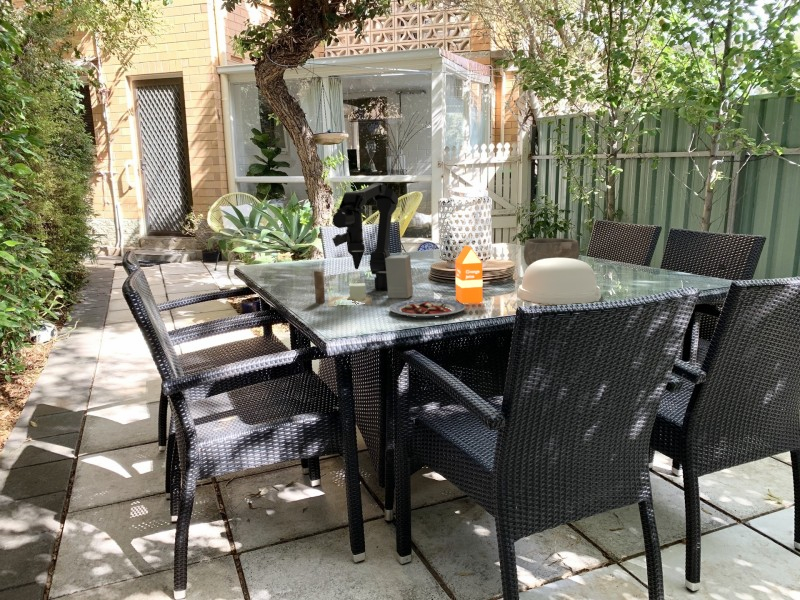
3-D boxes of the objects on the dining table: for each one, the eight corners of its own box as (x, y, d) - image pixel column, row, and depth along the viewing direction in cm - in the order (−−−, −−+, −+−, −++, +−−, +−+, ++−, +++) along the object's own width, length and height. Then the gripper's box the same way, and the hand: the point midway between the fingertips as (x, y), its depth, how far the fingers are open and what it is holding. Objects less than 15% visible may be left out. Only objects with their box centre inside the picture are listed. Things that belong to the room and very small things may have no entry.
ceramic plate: (408, 325, 194) (408, 315, 194) (378, 309, 218) (377, 301, 217) (479, 315, 204) (479, 306, 204) (443, 301, 228) (443, 293, 227)
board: (370, 295, 242) (370, 295, 242) (372, 305, 224) (372, 304, 224) (329, 297, 240) (329, 296, 240) (327, 307, 223) (327, 306, 223)
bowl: (585, 276, 269) (586, 242, 266) (529, 278, 270) (529, 243, 267) (571, 268, 293) (571, 236, 290) (519, 269, 293) (519, 238, 290)
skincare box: (413, 295, 240) (412, 254, 236) (407, 299, 233) (406, 257, 230) (392, 294, 242) (391, 254, 239) (386, 298, 236) (384, 256, 233)
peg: (325, 302, 232) (323, 270, 230) (324, 303, 229) (323, 271, 227) (315, 302, 232) (314, 270, 230) (315, 304, 229) (313, 272, 226)
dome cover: (499, 297, 232) (499, 260, 229) (542, 286, 253) (543, 251, 250) (578, 308, 210) (579, 267, 207) (618, 295, 231) (619, 257, 228)
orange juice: (475, 298, 231) (475, 244, 227) (482, 303, 222) (482, 247, 218) (455, 299, 230) (454, 245, 226) (461, 304, 221) (461, 248, 217)
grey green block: (365, 295, 241) (364, 283, 240) (365, 298, 235) (365, 285, 234) (349, 296, 240) (349, 283, 239) (350, 299, 234) (349, 286, 233)
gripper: (333, 225, 240) (334, 265, 243) (332, 228, 222) (334, 271, 225) (361, 224, 241) (363, 264, 244) (364, 227, 223) (365, 270, 226)
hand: (356, 267), depth 235 cm, fingers open, 9 cm apart
